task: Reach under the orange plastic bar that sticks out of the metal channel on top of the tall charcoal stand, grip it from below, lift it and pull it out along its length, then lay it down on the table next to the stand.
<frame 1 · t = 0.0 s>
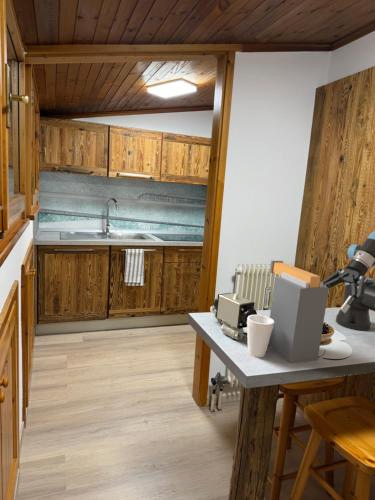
hand: (329, 305, 141), 15 cm above the breakfast bar, tool tilted 35°, fingers open, 13 cm apart
charcoal stand: (291, 351, 131), on the breakfast bar
orange bar: (293, 278, 130), point 27 cm above the breakfast bar, touching charcoal stand
foam cup: (256, 353, 127), on the breakfast bar
ball valve: (232, 336, 140), on the breakfast bar
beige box: (219, 322, 154), on the breakfast bar
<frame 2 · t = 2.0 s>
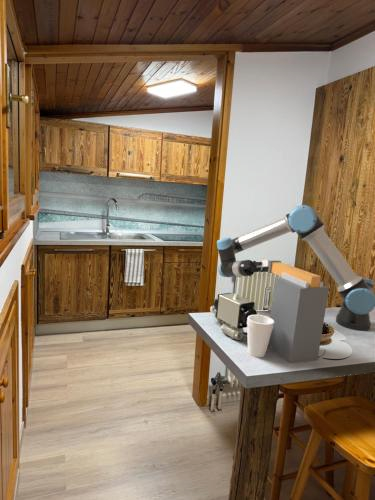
hand: (279, 265, 147), 28 cm above the breakfast bar, tool pointing upward, fingers open, 12 cm apart
nothing on the breakfast bar moved.
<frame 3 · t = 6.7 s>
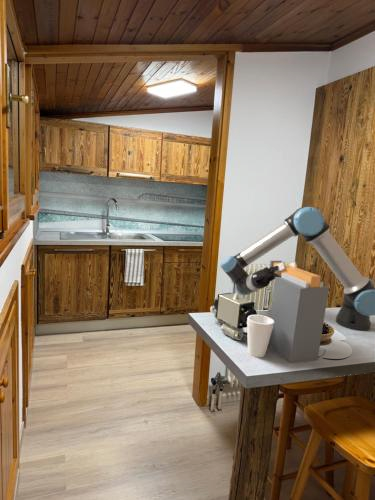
hand: (290, 265, 132), 32 cm above the breakfast bar, tool pointing upward
orange bar: (293, 278, 130), point 27 cm above the breakfast bar, touching gripper
everything else where it was.
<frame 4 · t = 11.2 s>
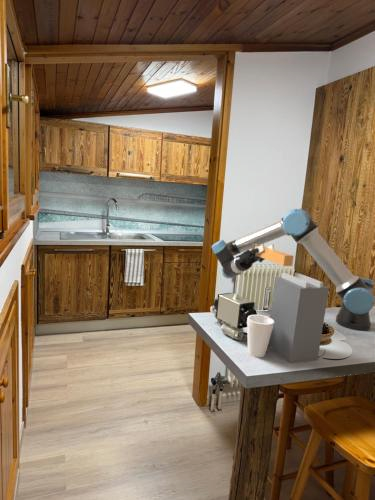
hand: (268, 247, 146), 36 cm above the breakfast bar, tool pointing upward, fingers closed on orange bar, 4 cm apart
orange bar: (270, 259, 144), point 31 cm above the breakfast bar, touching gripper
everything else where it was.
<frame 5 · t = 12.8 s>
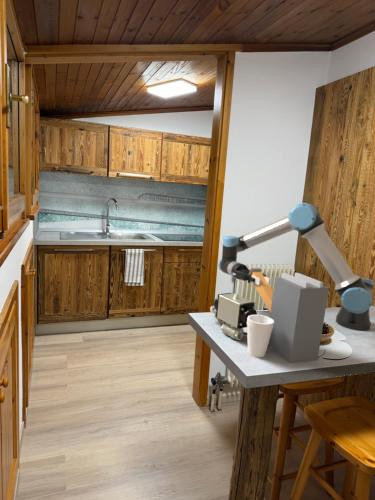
hand: (264, 282, 148), 21 cm above the breakfast bar, tool horizontal, fingers closed on orange bar, 4 cm apart
orange bar: (263, 294, 149), point 15 cm above the breakfast bar, tilted 28°, touching gripper
everything else where it was.
when the fingers open (11 cm above the breakfast bar, at t = 15.4 s): orange bar drops 6 cm, on the breakfast bar.
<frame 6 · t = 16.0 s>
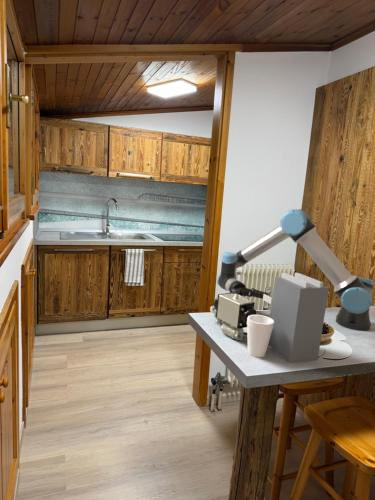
hand: (258, 301, 152), 11 cm above the breakfast bar, tool horizontal, fingers open, 13 cm apart
orange bar: (256, 325, 153), on the breakfast bar
everything else where it was.
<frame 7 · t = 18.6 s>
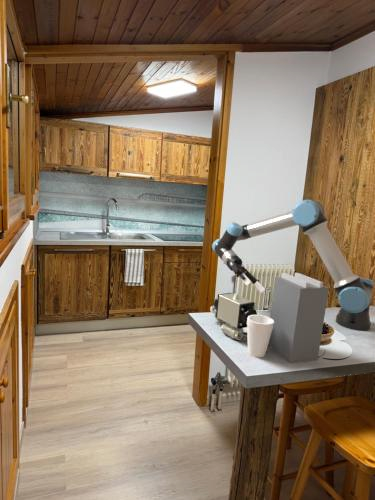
hand: (256, 288, 163), 14 cm above the breakfast bar, tool tilted 65°, fingers open, 13 cm apart
nothing on the breakfast bar moved.
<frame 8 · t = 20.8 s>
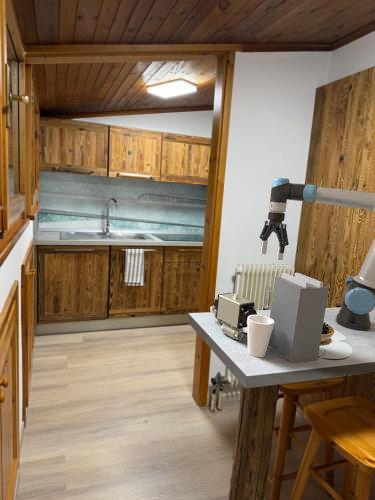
hand: (271, 256, 165), 29 cm above the breakfast bar, tool pointing down, fingers open, 13 cm apart
nothing on the breakfast bar moved.
at the end: orange bar inside the target area (1.3 cm from its centre), on the breakfast bar; orange bar moved 33.6 cm from its start; the gripper is holding nothing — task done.
